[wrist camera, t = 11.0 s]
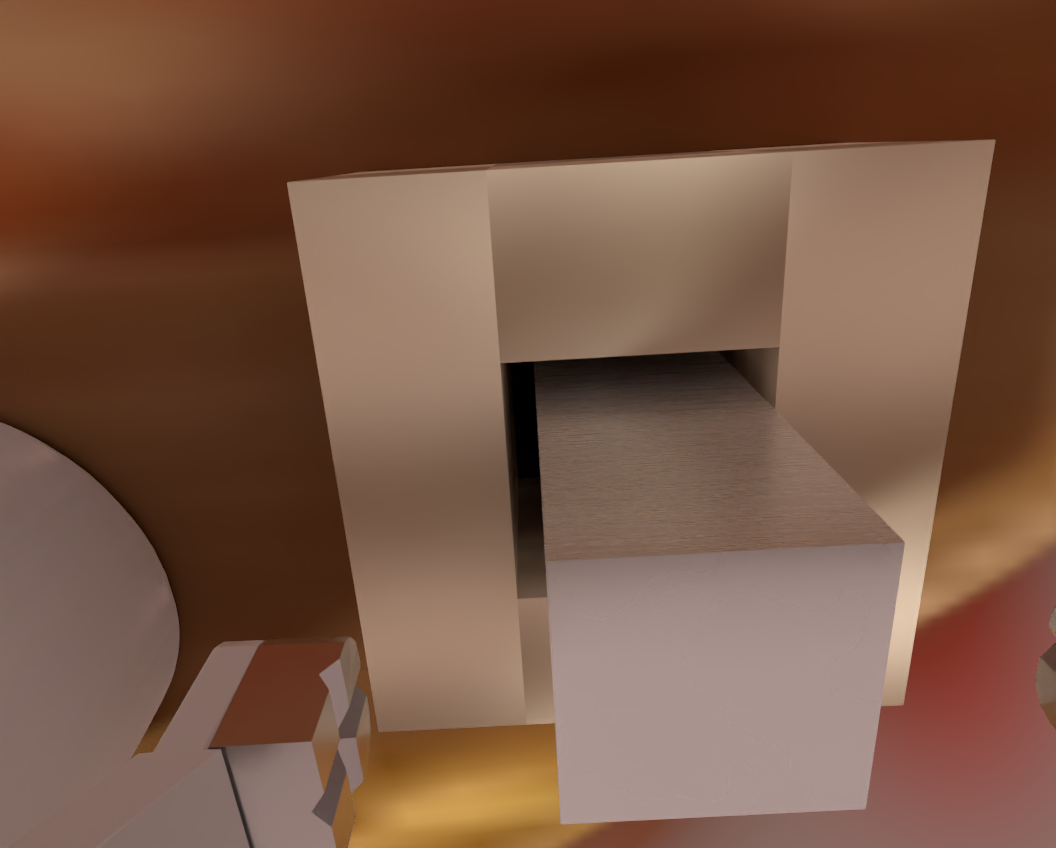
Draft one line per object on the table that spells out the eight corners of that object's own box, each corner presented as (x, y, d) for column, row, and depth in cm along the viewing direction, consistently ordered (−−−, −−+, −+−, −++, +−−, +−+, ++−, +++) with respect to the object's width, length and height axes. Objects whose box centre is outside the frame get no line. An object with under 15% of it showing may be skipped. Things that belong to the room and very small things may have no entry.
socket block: (360, 172, 18) (286, 181, 12) (845, 142, 18) (995, 139, 12) (414, 584, 22) (379, 732, 17) (805, 563, 22) (903, 704, 16)
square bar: (531, 322, 19) (545, 561, 8) (680, 313, 19) (905, 541, 8) (538, 458, 21) (560, 824, 9) (678, 451, 21) (865, 809, 9)
